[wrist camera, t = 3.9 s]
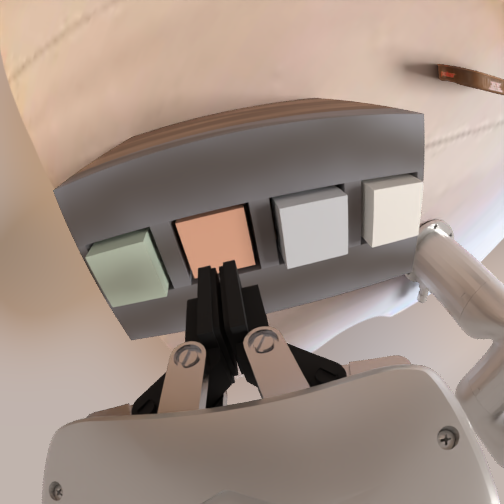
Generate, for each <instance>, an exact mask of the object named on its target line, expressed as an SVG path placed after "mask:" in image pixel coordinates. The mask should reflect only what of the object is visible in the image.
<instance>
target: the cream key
mask: <svg viewBox="0 0 504 504" xmlns="http://www.w3.org/2000/svg"><path fill="white" fill-rule="evenodd" d="M423 185H424V182H423V181H421V180H419V179H418V178H416V177H414V176H412V175H410V174H408V173H406V174H399V175H392V176H385V177H379V178H373V179H366V180H361V236H362V237H363V238H364V240H365V241H366V242H367V243H368V244H369V245H370V246H371V247H372V248H373V247H377V246H381V245H384V244H388V243H392V242H395V241H399V240H403V239H407V238H410V237H414V236H417V235H418V234H419V226H420V218H421V209H422V198H423Z"/></svg>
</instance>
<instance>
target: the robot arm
mask: <svg viewBox="0 0 504 504" xmlns="http://www.w3.org/2000/svg"><path fill="white" fill-rule="evenodd" d="M219 275H220V280H219V277H218V273H217V270H216V268H211V266H210V265H209V266H205V267H201V268H198V287H197V298H193V299H189V300H187V309H186V331H185V342H184V343H182V344H180V345H178V346H177V347H176V348H175V349H174V350H173V351H172V353H171V355H170V358H169V363H168V367H167V371H166V373H165V374H164V375H163V376H162V377H160V378H159V379H158V380H157V381H156V382H155V383H154V384H153V385H152V386H151V387H150V388H149V389H148V390H147V391H146V392H144V393H143V394H142V395H141V396H140V397H139V398H138V399H137V400H136V401H135V403H134V404H133V405H130V404H129V403H128V404H125V405H121V406H117V407H114V408H110V409H106V410H102V411H98V412H94V413H92V414H89V415H88V416H87V418H84V419H80V420H76V421H73V422H70V423H68V424H66V425H64V426H62V427H61V428H59V429H58V430H57V431H56V432H55V434H54V436H53V437H52V440H51V443H50V446H49V449H48V453H47V458H46V464H45V470H44V478H43V491H42V504H500V500H499V497H498V493H497V489H496V486H495V483H494V480H493V477H492V474H491V471H490V468H489V465H488V462H487V460H486V457H485V455H484V452H483V450H482V448H481V445H480V443H479V441H478V439H477V436H478V437H479V438H480V440H481V441H482V443H483V444H484V445H485V447H486V448H487V450H488V451H489V453H490V454H491V456H492V457H493V458H494V460H495V461H496V462H497V463H498V464H499V465H500V466H501V467H503V468H504V284H503V283H502V282H501V281H500V280H499V279H498V278H496V277H495V275H493V274H492V273H491V272H490V271H489V270H488V269H487V268H486V267H485V266H484V265H483V264H482V263H480V262H479V261H478V260H477V259H476V258H475V257H474V256H473V255H471V254H470V253H469V252H468V251H467V250H466V249H465V248H463V247H462V246H461V245H460V244H459V243H457V242H456V241H455V240H454V235H453V231H452V229H451V227H450V226H449V225H448V224H447V223H446V222H444V221H442V220H433V221H430V222H428V223H426V224H424V225H423V226H421V227H420V228H419V234H418V238H417V244H416V251H415V257H414V263H413V268H412V272H410V273H407V274H404V275H405V276H406V277H407V278H408V279H409V280H411V281H413V282H418V283H419V288H420V291H419V294H418V298H417V300H418V301H419V302H421V303H424V302H425V301H426V299H427V296H428V291H429V292H430V293H432V294H433V295H435V297H436V298H437V299H438V300H439V301H440V303H441V304H442V305H443V306H444V308H445V309H446V310H447V311H448V312H449V314H450V315H451V316H452V317H453V318H454V320H455V321H456V322H457V323H458V325H459V326H460V327H461V328H462V330H463V331H464V332H465V333H466V334H467V335H468V336H470V337H472V338H476V339H492V340H493V344H492V346H491V347H490V348H489V349H488V351H487V352H486V353H485V355H484V356H483V357H482V358H481V359H480V360H479V361H478V362H477V363H476V365H475V366H474V367H473V368H472V369H471V370H470V371H469V372H468V373H467V374H466V375H465V376H464V377H463V379H462V380H461V381H460V382H459V384H458V386H457V388H456V392H455V395H454V393H453V392H452V390H451V389H450V387H449V386H448V385H447V383H446V382H445V381H444V380H443V378H442V377H441V376H440V375H439V374H438V373H437V372H435V371H434V370H432V369H431V368H428V367H426V366H422V365H413V364H411V363H410V361H409V360H408V359H406V358H405V357H402V356H388V357H382V358H375V359H368V360H361V361H353V362H349V364H348V365H340V364H338V363H336V362H334V361H331V360H328V359H326V358H323V357H320V356H318V355H315V354H313V353H310V352H308V351H305V350H303V349H300V348H298V347H295V346H293V345H290V344H288V343H286V341H285V339H284V338H283V336H282V334H281V333H280V332H279V330H277V329H275V328H273V327H269V325H268V321H267V317H266V313H265V310H264V306H263V302H262V298H261V294H260V290H259V287H258V284H257V285H252V286H248V287H243V288H242V285H241V282H240V278H239V274H238V270H237V266H236V262H235V260H231V261H227V262H223V266H219ZM237 363H238V366H239V368H240V371H241V373H242V374H244V375H245V378H246V380H247V382H249V383H251V384H253V385H254V386H256V387H258V390H259V393H260V395H261V398H262V399H259V400H254V401H249V402H244V403H238V404H232V405H227V391H226V390H227V389H228V388H229V387H230V385H231V384H232V383H235V380H234V376H237V375H238V368H237ZM475 433H476V434H477V436H476V434H475Z"/></svg>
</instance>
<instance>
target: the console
mask: <svg viewBox="0 0 504 504" xmlns="http://www.w3.org/2000/svg"><path fill="white" fill-rule="evenodd" d="M406 173H408V174H410V175H412V176H414V177H416V178H418V179H419V180H421V181H423V176H424V114H422V113H417V112H413V111H408V110H403V109H398V108H392V107H387V106H381V105H374V104H368V103H360V102H352V101H344V100H333V99H322V98H313V99H303V100H294V101H286V102H278V103H271V104H265V105H258V106H253V107H247V108H241V109H236V110H231V111H226V112H221V113H217V114H212V115H208V116H204V117H200V118H196V119H192V120H188V121H184V122H180V123H177V124H173V125H169V126H166V127H163V128H159V129H156V130H153V131H149V132H146V133H143V134H140V135H137V136H134V137H132V138H130V139H128V140H126V141H125V142H123V143H121V144H120V145H118V146H116V147H115V148H113V149H112V150H110V151H108V152H107V153H105V154H104V155H102V156H101V157H99V158H98V159H96V160H95V161H93V162H92V163H90V164H89V165H87V166H86V167H84V168H83V169H81V170H80V171H79V172H77V173H76V174H74V175H73V176H72V177H70V178H69V179H68V180H66V181H65V182H64V183H62V184H61V185H60V186H58V187H57V188H56V189H54V190H53V192H54V194H55V197H56V199H57V202H58V204H59V207H60V209H61V211H62V214H63V216H64V219H65V221H66V223H67V226H68V228H69V230H70V232H71V234H72V237H73V239H74V241H75V243H76V245H77V247H78V249H79V251H80V253H81V255H82V257H83V259H84V261H85V263H86V265H87V267H88V269H89V271H90V273H91V275H92V276H93V278H94V280H95V282H96V284H97V285H98V287H99V289H100V291H101V293H102V294H103V296H104V298H105V299H106V301H107V303H108V304H109V306H110V308H111V309H112V311H113V313H114V314H115V316H116V317H117V319H118V321H119V322H120V324H121V325H122V327H123V329H124V330H125V332H126V333H127V335H128V336H129V338H130V339H131V340H135V339H142V338H148V337H154V336H160V335H166V334H171V333H177V332H182V331H186V309H187V300H189V299H193V298H197V287H198V278H194V275H193V273H192V270H191V267H190V264H189V262H188V259H187V256H186V253H185V250H184V247H183V245H182V242H181V239H180V236H179V233H178V230H177V227H176V219H180V218H184V217H188V216H192V215H196V214H200V213H204V212H209V211H213V210H217V209H221V208H225V207H230V206H234V205H238V204H243V207H244V212H245V216H246V221H247V226H248V231H249V236H250V240H251V245H252V250H253V255H254V260H255V264H256V265H252V266H247V267H243V268H239V269H237V270H238V274H239V278H240V282H241V285H242V288H243V287H248V286H252V285H257V284H258V287H259V290H260V294H261V298H262V302H263V306H264V310H265V313H266V314H267V313H271V312H275V311H279V310H284V309H288V308H291V307H295V306H299V305H303V304H307V303H311V302H314V301H318V300H322V299H325V298H329V297H333V296H336V295H340V294H343V293H347V292H350V291H353V290H357V289H360V288H363V287H367V286H370V285H373V284H376V283H380V282H383V281H386V280H389V279H392V278H395V277H398V276H401V275H404V274H407V273H410V272H412V268H413V263H414V257H415V251H416V244H417V238H418V235H417V236H414V237H410V238H407V239H403V240H399V241H395V242H392V243H388V244H384V245H381V246H377V247H373V248H372V247H371V246H370V245H369V244H368V243H367V242H366V241H365V240H364V238H363V237H362V236H361V180H366V179H373V178H379V177H385V176H392V175H399V174H406ZM332 185H336V186H337V187H338V188H339V189H341V190H342V191H343V192H344V193H345V194H347V195H348V254H346V255H342V256H338V257H334V258H330V259H326V260H322V261H318V262H314V263H310V264H306V265H302V266H298V267H294V268H290V269H287V266H286V264H285V262H284V260H283V257H282V255H281V253H280V251H279V248H278V242H277V236H276V229H275V223H274V216H273V210H272V204H271V198H270V197H275V196H280V195H285V194H290V193H295V192H300V191H305V190H310V189H315V188H321V187H326V186H332ZM146 227H150V229H151V231H152V234H153V237H154V239H155V242H156V245H157V247H158V250H159V252H160V255H161V257H162V260H163V262H164V265H165V267H166V270H167V272H168V274H169V277H170V279H169V286H168V293H167V297H162V298H157V299H152V300H147V301H142V302H138V303H133V304H128V305H123V306H118V307H112V306H111V304H110V302H109V301H108V299H107V297H106V295H105V294H104V292H103V290H102V288H101V287H100V285H99V283H98V281H97V279H96V277H95V276H94V274H93V272H92V270H91V268H90V266H89V264H88V262H87V260H86V258H85V257H86V255H87V254H88V252H89V250H90V249H91V247H92V245H93V244H94V242H98V241H101V240H104V239H108V238H111V237H114V236H118V235H121V234H125V233H128V232H132V231H135V230H139V229H143V228H146ZM218 277H219V280H220V275H219V273H218Z"/></svg>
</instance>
